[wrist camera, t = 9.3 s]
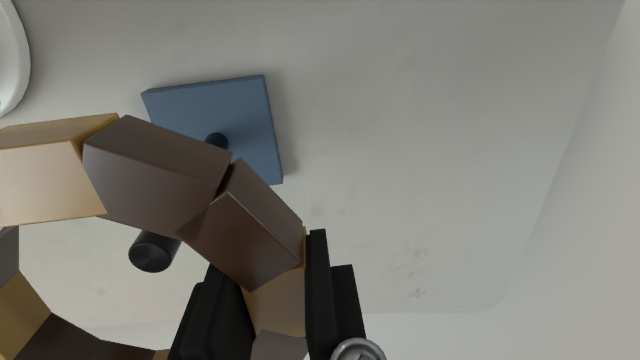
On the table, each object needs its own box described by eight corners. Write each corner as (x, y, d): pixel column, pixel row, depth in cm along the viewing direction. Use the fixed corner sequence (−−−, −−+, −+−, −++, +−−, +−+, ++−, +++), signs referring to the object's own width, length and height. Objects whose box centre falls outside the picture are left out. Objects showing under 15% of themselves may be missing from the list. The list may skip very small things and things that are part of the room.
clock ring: (64, 389, 14) (32, 442, 13) (-155, 145, 9) (-270, 181, 7) (328, 359, 14) (331, 408, 13) (283, 91, 9) (278, 113, 7)
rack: (184, 189, 26) (94, 336, 14) (147, 89, 22) (-18, 182, 10) (283, 176, 26) (271, 314, 14) (263, 74, 22) (225, 151, 10)
